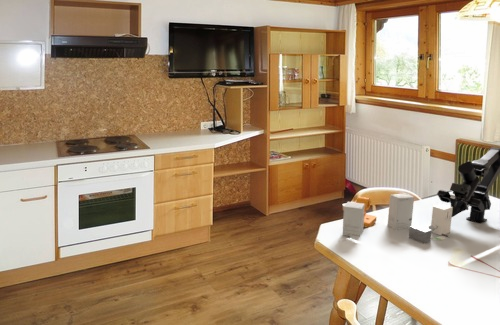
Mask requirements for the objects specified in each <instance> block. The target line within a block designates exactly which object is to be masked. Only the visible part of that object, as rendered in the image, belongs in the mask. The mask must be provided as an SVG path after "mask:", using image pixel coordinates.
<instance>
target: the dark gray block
mask: <svg viewBox="0 0 500 325" xmlns="http://www.w3.org/2000/svg"><path fill="white" fill-rule="evenodd" d="M431 231H432V230H431V229H429V227H425V226H421V225H420V224H413V225H411V226H410V228H409V230H408V239H411V240H413V241H415V242H419V243H421V244H423V245H425V244H427V243H430V242H431V239H432V232H431Z"/></svg>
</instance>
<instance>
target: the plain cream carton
mask: <svg viewBox="0 0 500 325" xmlns="http://www.w3.org/2000/svg"><path fill="white" fill-rule="evenodd" d="M452 210H453V207H451V205H447V204H443V203H440V204H437V205H433V206H432V213H431V222H430V226H428V229H431V230H432V231H431V234H432V233H433V234H435V235H439V236H442V235H443V236H446V237H448V238H449V235H448V234H449V233H450V232H451V226H452V218H453V217H452Z"/></svg>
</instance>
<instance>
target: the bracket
mask: <svg viewBox="0 0 500 325" xmlns="http://www.w3.org/2000/svg"><path fill="white" fill-rule="evenodd" d="M355 203H362V204H365V209H364V226H363V228H372V227H373V226H375V224H376V221H377V216H376V215H371V214H367V211H369V210H370V207H371V198H369V197H365V196H358V197H357V198H356V201H355Z"/></svg>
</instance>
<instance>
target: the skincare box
mask: <svg viewBox="0 0 500 325" xmlns="http://www.w3.org/2000/svg"><path fill="white" fill-rule="evenodd" d="M414 199H415V196H413V195H410V194H408V193H397V194H395V193H393V194H390V196H389V204H388V205H389V207H388V216H387V226H389V227H390V228H392V229H393V230H402V229H406V228H407V229H410V226H412V221H413V211H414V203H415V200H414Z"/></svg>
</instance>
